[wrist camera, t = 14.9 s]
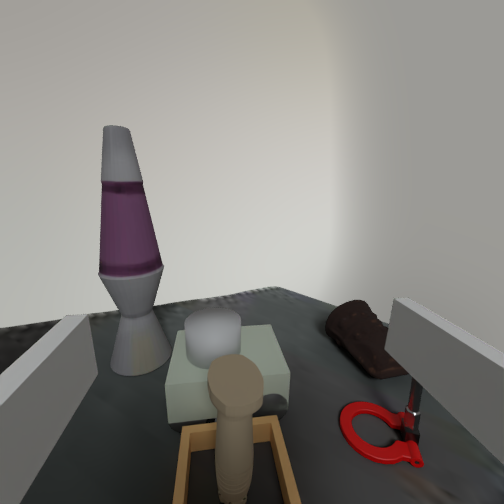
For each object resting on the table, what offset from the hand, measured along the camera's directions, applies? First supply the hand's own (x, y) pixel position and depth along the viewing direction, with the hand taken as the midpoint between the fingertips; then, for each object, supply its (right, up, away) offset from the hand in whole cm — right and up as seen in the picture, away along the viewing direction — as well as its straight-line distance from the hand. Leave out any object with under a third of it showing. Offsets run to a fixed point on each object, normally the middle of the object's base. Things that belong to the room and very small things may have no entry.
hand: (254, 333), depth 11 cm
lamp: (-21, -17, +37) cm, 46 cm away
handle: (-2, -23, +16) cm, 28 cm away
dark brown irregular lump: (+24, -17, +38) cm, 49 cm away
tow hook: (+17, -21, +23) cm, 35 cm away
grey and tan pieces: (-3, -21, +22) cm, 31 cm away
